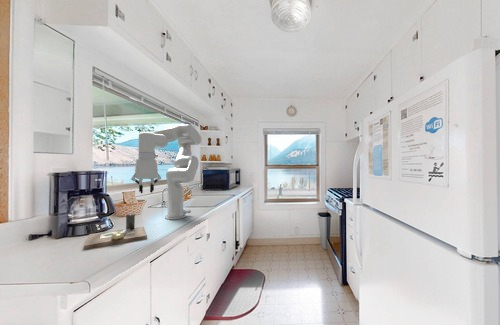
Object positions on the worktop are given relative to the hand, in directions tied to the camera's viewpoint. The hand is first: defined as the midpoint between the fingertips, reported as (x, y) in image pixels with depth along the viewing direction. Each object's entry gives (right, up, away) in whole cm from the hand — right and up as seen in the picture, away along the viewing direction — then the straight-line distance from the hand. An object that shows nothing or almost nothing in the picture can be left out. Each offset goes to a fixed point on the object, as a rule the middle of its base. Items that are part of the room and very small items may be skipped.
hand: (146, 192), depth 104 cm
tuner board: (-7, -19, -11) cm, 23 cm away
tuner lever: (-5, -17, -11) cm, 21 cm away
